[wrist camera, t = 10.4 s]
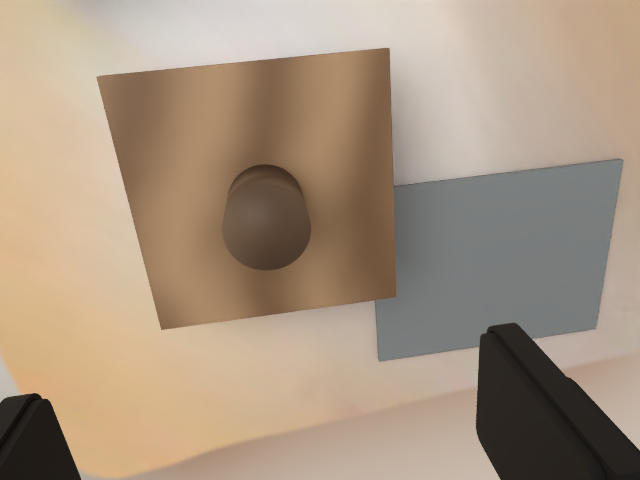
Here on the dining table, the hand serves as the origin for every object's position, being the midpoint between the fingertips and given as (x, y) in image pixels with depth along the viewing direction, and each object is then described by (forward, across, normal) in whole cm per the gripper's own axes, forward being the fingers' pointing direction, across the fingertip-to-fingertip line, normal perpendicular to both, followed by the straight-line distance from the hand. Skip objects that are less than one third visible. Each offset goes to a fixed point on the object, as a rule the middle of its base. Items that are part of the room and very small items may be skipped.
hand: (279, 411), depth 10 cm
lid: (+17, 0, 0) cm, 17 cm away
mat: (+22, -16, +9) cm, 29 cm away
